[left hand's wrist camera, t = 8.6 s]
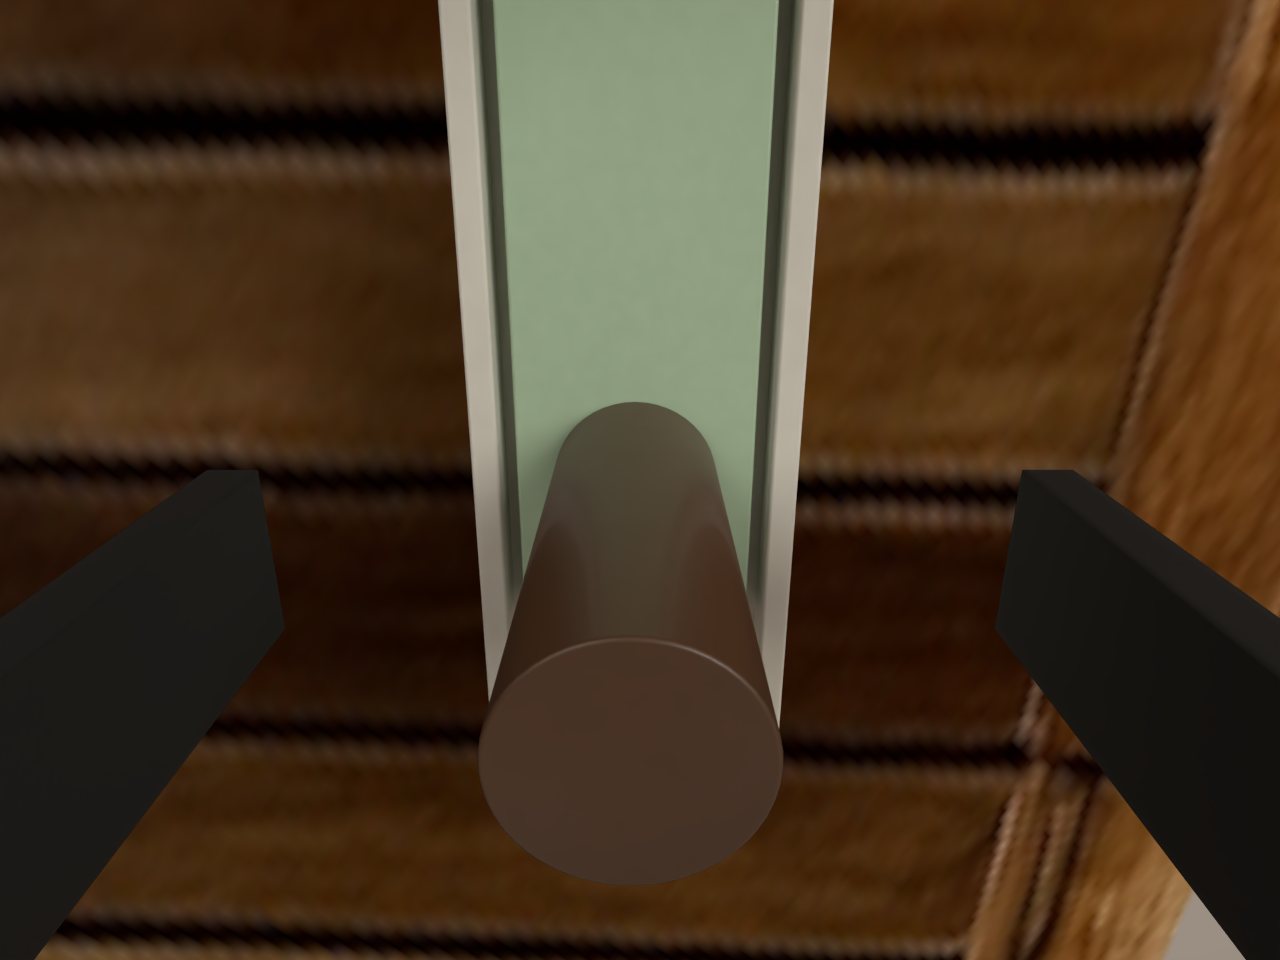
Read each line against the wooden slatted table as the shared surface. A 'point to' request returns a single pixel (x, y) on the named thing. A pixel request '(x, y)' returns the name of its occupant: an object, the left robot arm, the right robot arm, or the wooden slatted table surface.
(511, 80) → the sliding lid
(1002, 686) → the wooden slatted table surface
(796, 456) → the pencil box
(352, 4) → the wooden slatted table surface
